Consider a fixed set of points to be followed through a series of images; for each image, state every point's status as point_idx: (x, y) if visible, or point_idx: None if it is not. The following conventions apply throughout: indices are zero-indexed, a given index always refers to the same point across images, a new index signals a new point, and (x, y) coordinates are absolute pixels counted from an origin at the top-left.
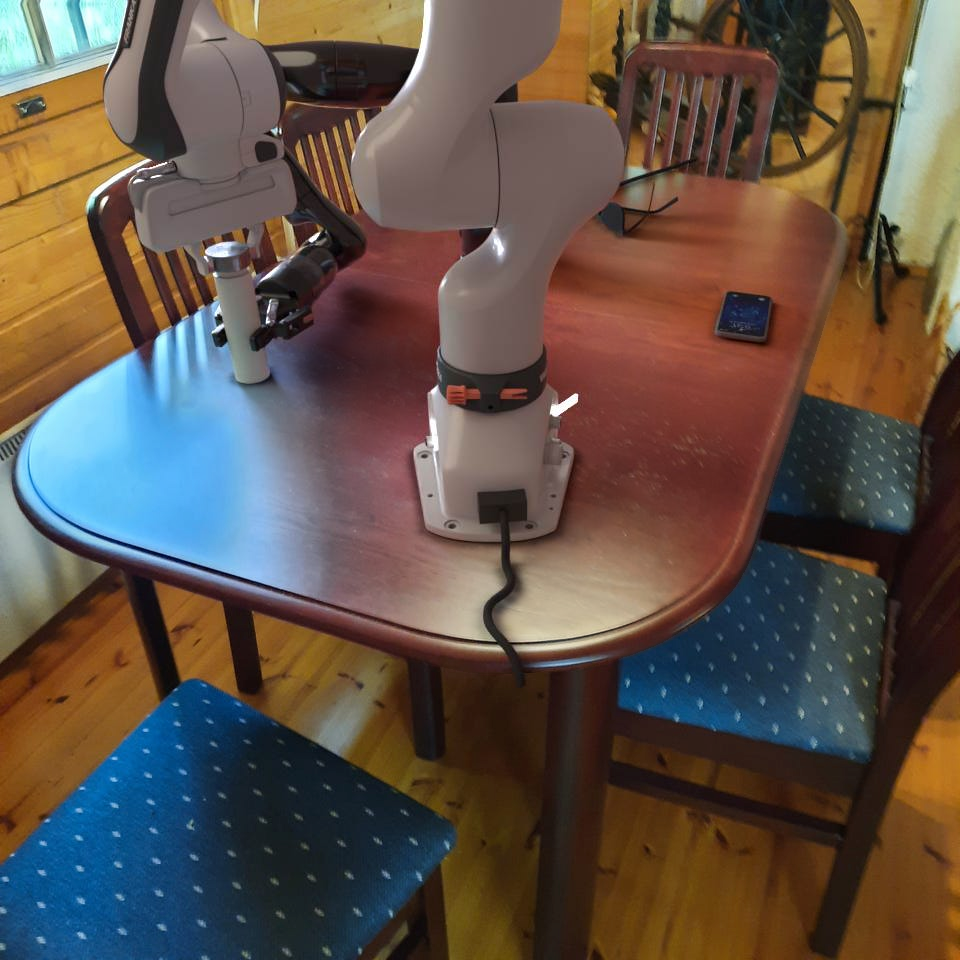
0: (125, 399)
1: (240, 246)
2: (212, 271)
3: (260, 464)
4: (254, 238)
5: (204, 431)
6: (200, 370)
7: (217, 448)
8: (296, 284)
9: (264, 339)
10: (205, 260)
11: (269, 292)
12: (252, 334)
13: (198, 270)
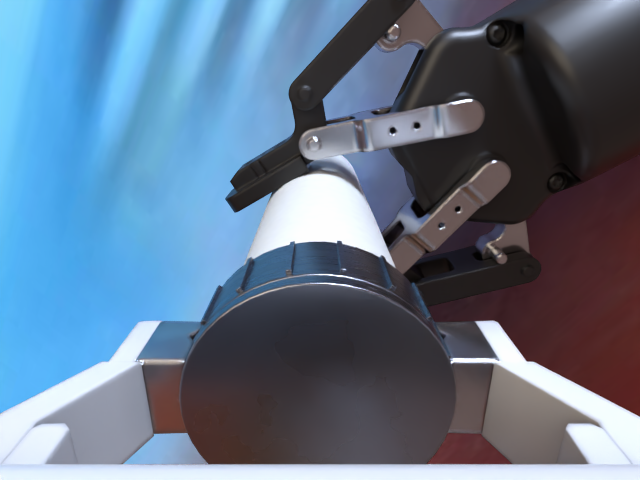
0: (26, 57)
1: (405, 425)
2: None
3: (170, 437)
4: (523, 449)
5: (134, 303)
6: (236, 63)
7: None
8: (619, 161)
9: None
10: (138, 444)
11: (533, 91)
12: None
13: (138, 324)
